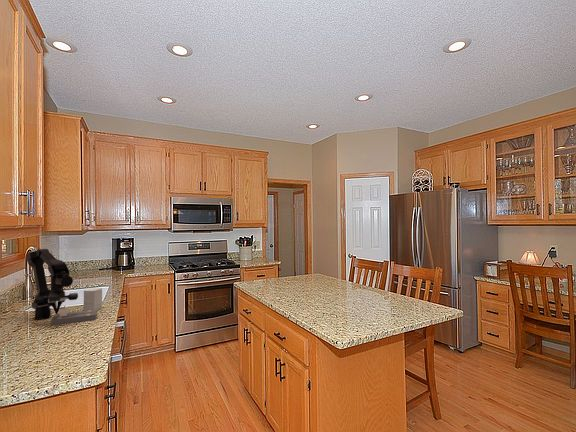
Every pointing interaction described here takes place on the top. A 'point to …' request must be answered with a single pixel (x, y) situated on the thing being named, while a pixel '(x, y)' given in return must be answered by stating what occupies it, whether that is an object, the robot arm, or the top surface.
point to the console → (74, 317)
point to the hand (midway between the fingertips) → (56, 313)
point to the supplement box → (93, 299)
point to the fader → (63, 311)
